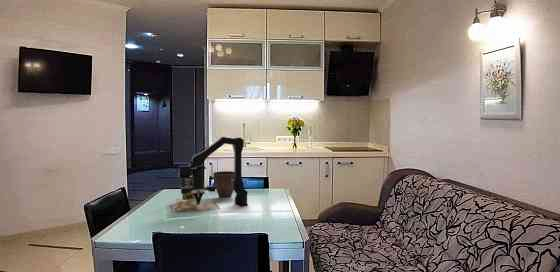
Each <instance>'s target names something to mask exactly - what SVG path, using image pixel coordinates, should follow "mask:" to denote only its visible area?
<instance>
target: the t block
mask: <svg viewBox="0 0 560 272" xmlns="http://www.w3.org/2000/svg"><path fill="white" fill-rule="evenodd" d="M175 201H176V204H175V205H177V210H184V208H196V203H197V202H196V200H195V199H191V200H183V198H179V199H178V198H177V199H176V200H175Z"/></svg>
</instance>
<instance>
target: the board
mask: <svg viewBox="0 0 560 272" xmlns="http://www.w3.org/2000/svg"><path fill="white" fill-rule="evenodd" d="M169 207H170V211H171V214H175V213H176V214H177V213H189V212H199V211H200V212H201V211H212V210H221V207H220V206H219V205H218V204H217V203H216V201H206V202H200V203H199V205H198V204H197V202H196V208H184V210H177V205H176V204H169Z"/></svg>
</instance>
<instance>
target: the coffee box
mask: <svg viewBox="0 0 560 272" xmlns="http://www.w3.org/2000/svg"><path fill="white" fill-rule="evenodd" d="M181 180H182V181H181V182H182V187H188V188H192V186H189V180H192V181H193V175H192V174H191V176H190V177H189V178H181ZM197 194H198V196H199V191H197ZM181 196H182V199H183V200H191V199H195V200H196V198H195V196H194V195H192V193H191V192H188V193H186V194H181ZM196 203H197V201H196Z"/></svg>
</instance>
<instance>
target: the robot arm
mask: <svg viewBox="0 0 560 272" xmlns="http://www.w3.org/2000/svg"><path fill="white" fill-rule="evenodd" d="M225 144H226V145H232V149H233V153H234V154H233V157H234V159H233V161H234V162H233V163H234V166H233V168H234V169H233V172H234V179H233V180H231V183H232V184H231V187H232V189H233V192H235V196H234V204H235V205H237V206H238V207H244V206H245V207H246V206H249V205H248V193H249V192H248V191H247V190H246V188H245V186H244V181H243V180H244V179H243V178H242V174H243V173H242V153H243V149H244V144H245V140H244V139H243V138H242V137H237V136H236V137H234V138H232V137H225V136H221V137H219V139H218V140H216V141H215V142H214V143H212V144H210V146H208V147H207V148H206V149H204V150H202V151H200V152H197V153H196V154H194V155H192V157H191V162H190V163H189V164H188V165H179V166H178V179H182V178H189V177H190V176H191V175H192V176H193V181H192V180H189V186H192V188H188V187H180V194H181V195H182V194H186V193H188V192H191V193H192V195H194V196H195V198H196V201H197V202H196V203H197V204H198V205H199V203H201V201H202V198H203V195H206V192H205V191H208V192H209V193H211V192H216V186H215V185H213V184H211V185H210V184H209V185H206V186H205V187H204V176H203V175H204V173H203V170H206V169H207V167H206V166H205V165H204V162H205V161H206V160H207V159H208V158H209V157H210V156H211V155H213V153H215V152H217V150H218V149H219V148H221V147H222V146H224V145H225ZM197 191H199V196H198V194H197Z"/></svg>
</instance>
